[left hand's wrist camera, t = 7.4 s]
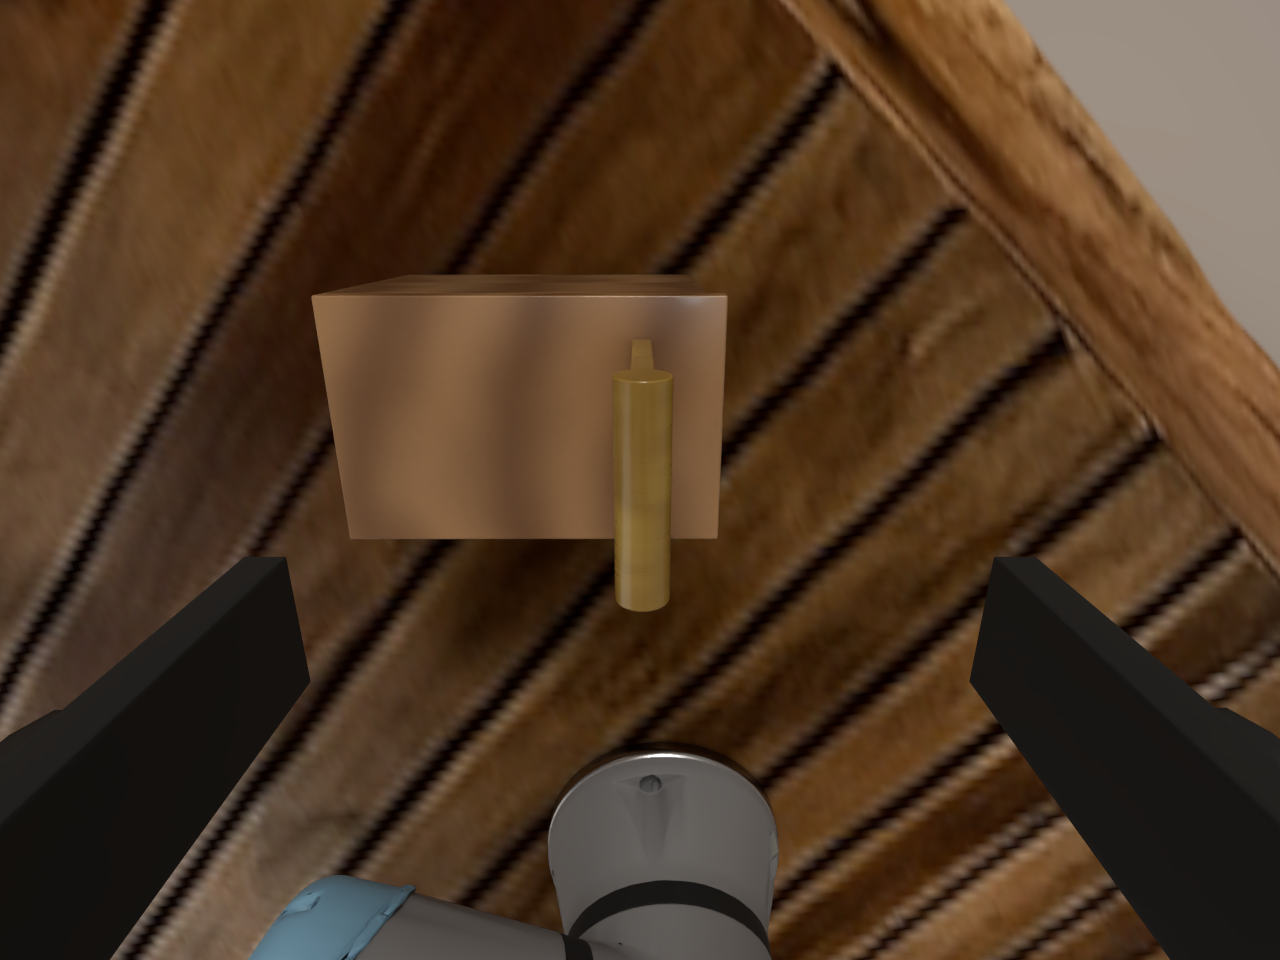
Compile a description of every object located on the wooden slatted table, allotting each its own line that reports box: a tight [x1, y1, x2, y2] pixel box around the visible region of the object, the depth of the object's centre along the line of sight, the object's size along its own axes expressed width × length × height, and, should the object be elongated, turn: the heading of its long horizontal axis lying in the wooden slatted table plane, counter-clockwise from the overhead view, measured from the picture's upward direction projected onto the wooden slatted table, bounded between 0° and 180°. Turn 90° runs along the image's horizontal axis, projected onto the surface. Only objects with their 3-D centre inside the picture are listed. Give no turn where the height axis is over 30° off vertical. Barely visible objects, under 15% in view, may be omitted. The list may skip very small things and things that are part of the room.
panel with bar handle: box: [312, 293, 728, 612], centre depth 23 cm, size 15×9×9 cm, turn 90°
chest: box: [326, 275, 706, 293], centre depth 31 cm, size 14×9×10 cm
